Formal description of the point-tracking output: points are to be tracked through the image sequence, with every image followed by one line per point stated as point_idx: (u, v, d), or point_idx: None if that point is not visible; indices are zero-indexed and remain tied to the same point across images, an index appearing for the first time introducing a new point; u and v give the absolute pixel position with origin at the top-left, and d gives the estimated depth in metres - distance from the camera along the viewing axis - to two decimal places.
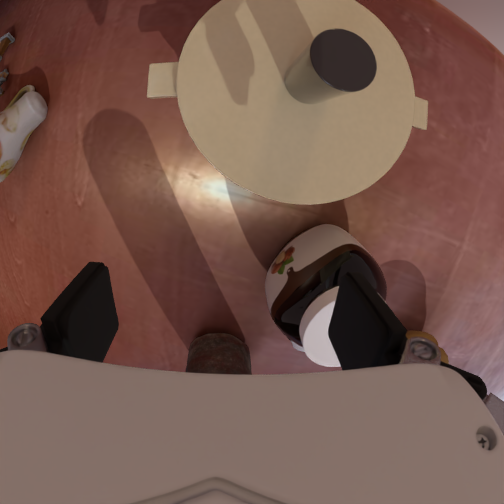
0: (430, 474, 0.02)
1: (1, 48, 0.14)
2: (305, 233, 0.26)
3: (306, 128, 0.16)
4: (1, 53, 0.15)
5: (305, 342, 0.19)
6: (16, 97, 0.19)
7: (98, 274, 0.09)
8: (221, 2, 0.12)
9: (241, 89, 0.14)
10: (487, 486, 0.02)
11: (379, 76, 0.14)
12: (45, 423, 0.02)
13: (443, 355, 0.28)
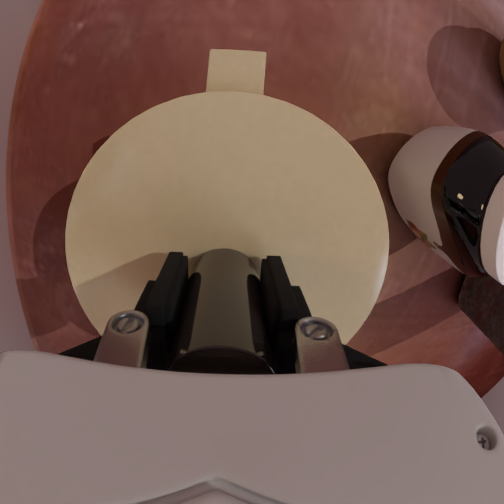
0: (430, 474, 0.02)
1: None
2: (395, 200, 0.19)
3: (292, 280, 0.13)
4: None
5: None
6: None
7: (184, 262, 0.10)
8: None
9: None
10: (487, 486, 0.02)
11: (191, 166, 0.10)
12: (45, 423, 0.02)
13: None
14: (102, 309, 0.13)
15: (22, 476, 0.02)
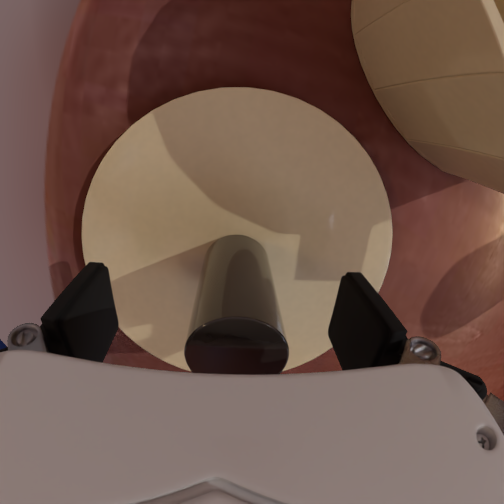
0: (430, 474, 0.02)
1: None
2: None
3: (301, 266, 0.13)
4: None
5: None
6: None
7: (98, 274, 0.09)
8: (141, 345, 0.15)
9: None
10: (487, 486, 0.02)
11: (206, 157, 0.11)
12: (45, 423, 0.02)
13: None
14: (116, 294, 0.13)
15: (22, 476, 0.02)
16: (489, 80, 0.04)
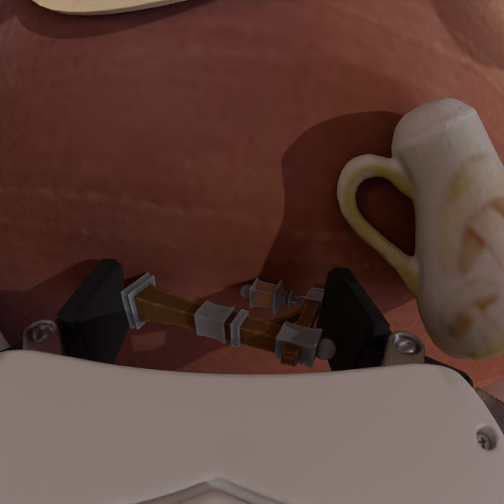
0: (430, 474, 0.02)
1: (171, 309, 0.10)
2: None
3: None
4: (191, 306, 0.10)
5: None
6: (365, 222, 0.10)
7: (112, 270, 0.09)
8: None
9: None
10: (487, 486, 0.02)
11: None
12: (45, 423, 0.02)
13: None
14: None
15: (22, 476, 0.02)
16: None
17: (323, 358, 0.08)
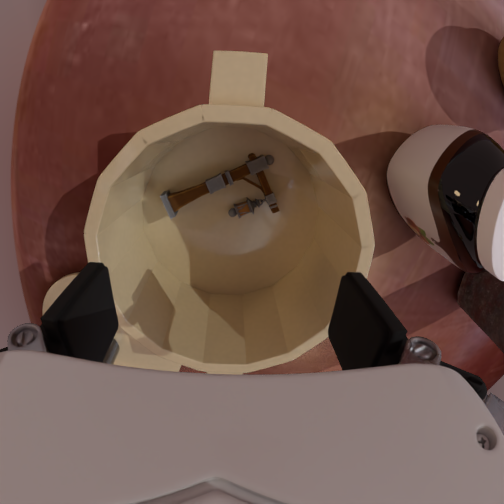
0: (430, 474, 0.02)
1: (192, 188, 0.19)
2: (394, 198, 0.19)
3: (133, 347, 0.24)
4: None
5: None
6: None
7: (98, 274, 0.09)
8: None
9: None
10: (487, 486, 0.02)
11: None
12: (45, 423, 0.02)
13: None
14: None
15: (22, 476, 0.02)
16: None
17: (267, 155, 0.18)
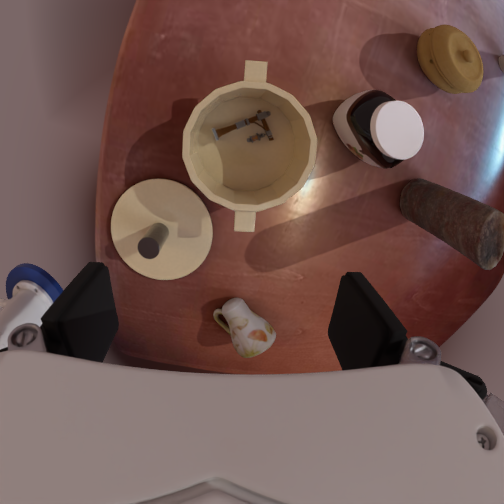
0: (430, 474, 0.02)
1: None
2: (338, 133, 0.35)
3: (179, 232, 0.40)
4: None
5: (402, 158, 0.27)
6: (220, 322, 0.47)
7: (98, 274, 0.09)
8: (129, 265, 0.41)
9: (166, 257, 0.41)
10: (487, 486, 0.02)
11: (148, 200, 0.38)
12: (45, 423, 0.02)
13: (437, 31, 0.23)
14: (121, 244, 0.40)
15: (22, 476, 0.02)
16: None
17: (267, 111, 0.34)
